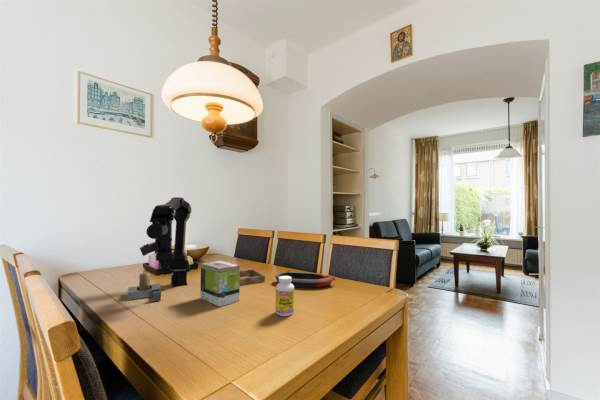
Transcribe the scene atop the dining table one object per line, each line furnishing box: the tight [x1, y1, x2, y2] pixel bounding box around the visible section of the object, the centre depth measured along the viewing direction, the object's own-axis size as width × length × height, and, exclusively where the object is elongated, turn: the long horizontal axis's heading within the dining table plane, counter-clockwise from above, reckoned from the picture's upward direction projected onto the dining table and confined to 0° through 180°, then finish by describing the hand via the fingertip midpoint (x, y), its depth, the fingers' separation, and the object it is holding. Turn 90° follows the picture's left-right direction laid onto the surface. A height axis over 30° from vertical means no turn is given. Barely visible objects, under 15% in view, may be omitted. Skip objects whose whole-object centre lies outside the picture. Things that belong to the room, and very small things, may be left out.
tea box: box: [199, 260, 241, 307], centre depth 111 cm, size 15×10×15 cm, turn 47°
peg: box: [138, 272, 151, 290], centre depth 117 cm, size 4×4×9 cm
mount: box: [127, 283, 162, 301], centre depth 117 cm, size 12×9×3 cm
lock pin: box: [152, 290, 162, 302], centre depth 114 cm, size 3×12×3 cm, turn 30°
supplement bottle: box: [275, 276, 295, 317], centre depth 97 cm, size 7×7×13 cm
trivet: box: [240, 268, 266, 286], centre depth 141 cm, size 17×17×3 cm
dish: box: [274, 270, 337, 289], centre depth 134 cm, size 16×31×5 cm, turn 75°
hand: (163, 273), depth 111 cm, fingers closed
